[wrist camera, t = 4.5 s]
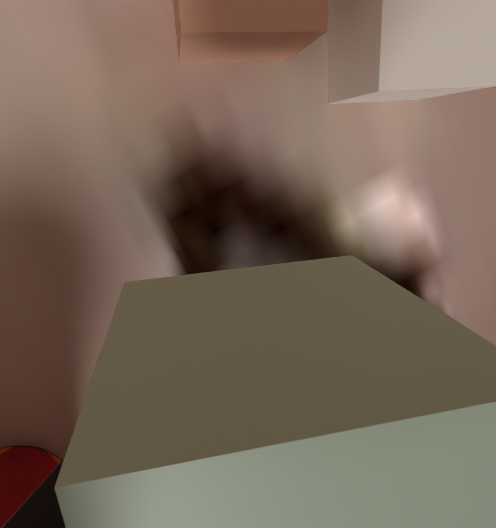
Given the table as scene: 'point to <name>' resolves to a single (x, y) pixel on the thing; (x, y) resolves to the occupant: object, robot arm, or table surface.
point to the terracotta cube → (246, 28)
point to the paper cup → (21, 476)
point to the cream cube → (409, 48)
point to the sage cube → (284, 407)
